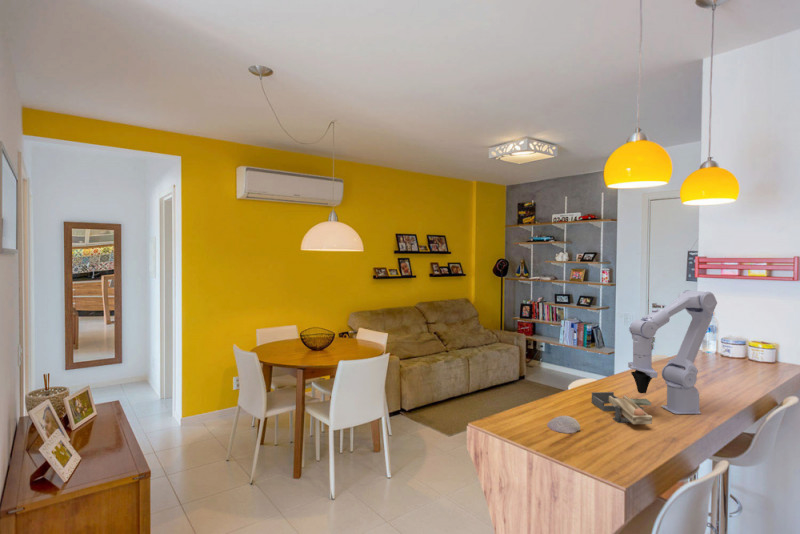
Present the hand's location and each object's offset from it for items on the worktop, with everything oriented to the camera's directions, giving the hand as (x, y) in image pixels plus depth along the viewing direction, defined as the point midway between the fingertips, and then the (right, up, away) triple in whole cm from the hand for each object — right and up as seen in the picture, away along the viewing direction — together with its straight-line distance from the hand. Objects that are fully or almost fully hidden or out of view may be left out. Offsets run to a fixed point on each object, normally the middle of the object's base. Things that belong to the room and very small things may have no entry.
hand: (642, 392), depth 152 cm
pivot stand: (-8, -8, -6) cm, 12 cm away
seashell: (-32, -9, -11) cm, 35 cm away
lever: (-4, -5, -6) cm, 9 cm away
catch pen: (-8, -8, +8) cm, 14 cm away
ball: (-8, -3, -12) cm, 15 cm away
